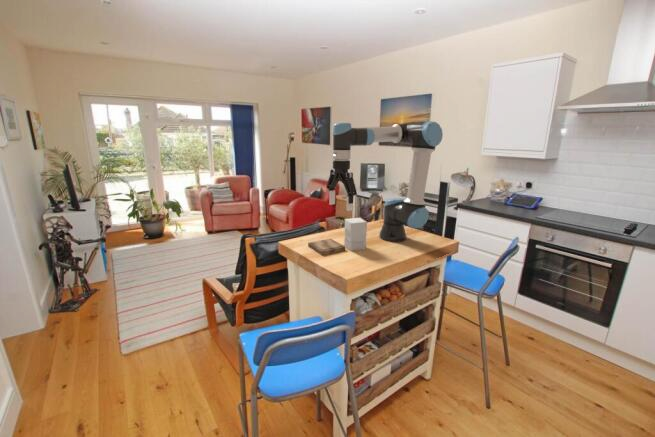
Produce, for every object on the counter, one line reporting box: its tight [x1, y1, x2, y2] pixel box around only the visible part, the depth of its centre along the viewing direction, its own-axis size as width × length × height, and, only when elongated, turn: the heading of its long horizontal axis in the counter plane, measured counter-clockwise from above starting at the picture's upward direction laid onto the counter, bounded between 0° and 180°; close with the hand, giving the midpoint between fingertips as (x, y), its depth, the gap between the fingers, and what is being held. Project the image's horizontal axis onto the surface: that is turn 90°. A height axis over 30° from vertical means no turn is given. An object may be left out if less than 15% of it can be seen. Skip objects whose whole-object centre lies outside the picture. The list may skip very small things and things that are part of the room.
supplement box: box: [343, 217, 368, 251], centre depth 161 cm, size 9×9×15 cm
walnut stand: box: [307, 238, 346, 256], centre depth 161 cm, size 14×14×2 cm
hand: (340, 207), depth 140 cm, fingers open, 13 cm apart
